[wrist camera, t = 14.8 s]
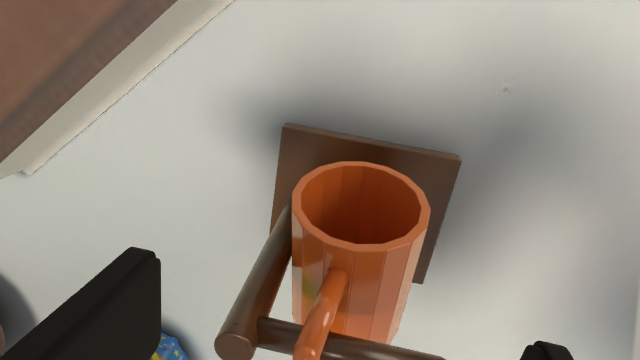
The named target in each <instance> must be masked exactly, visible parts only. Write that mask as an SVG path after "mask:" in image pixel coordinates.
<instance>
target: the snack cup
mask: <svg viewBox="0 0 640 360" xmlns="http://www.w3.org/2000/svg"><path fill="white" fill-rule="evenodd" d="M150 360H188V358H187V356H186V354H185V352H184V351H183V350H182V349H181V347H180V345H179V343H178V341H177V339H176V338H175V337H169V336H167V335H166V334H164V333H162V332H161V339H160V343H159V346H158V348H157V350H156V351H155V353H154V354H153V356H152V357H151V358H150Z"/></svg>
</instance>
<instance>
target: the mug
mask: <svg viewBox="0 0 640 360" xmlns="http://www.w3.org/2000/svg"><path fill="white" fill-rule="evenodd" d="M430 212H431V208H430V206H429V203H428V201H427V199H426V196H425V194H424V192H423V190H422V189H420V188H419V187H418V186H417V185H416V184H415V183H414V182H413V181H412V180H411V179H410V178H409V177H407V176H405V175H403V174H401V173H399V172H397V171H395V170H393V169H391V168H389V167H387V166H382V165H378V164H373V163H369V162H364V161H341V162H336V163H332V164H327V165H323V166H320V167H317V168H316V169H314V170H313V171H311V172H309V173H308V174H306V175H304V176H303V177H302V178H301V179H300V181H299V182H298V184H297V185H296V187H295V188H294V190H293V191H292V314H293V320H294V323H296V324H300V325H304V326H303V328H302V330H301V333H300V335H299V337H298V339H297V342H296V344H295V346H294V349H293V360H320V355H321V353H322V350H323V347H324V344H325V342H326V339H327V336H328V333H329V331H331V332H335V333H339V334H344V335H348V336H353V337H357V338H361V339H366V340H370V341H375V342H379V343H383V344H388V345H390V344H391V342H392V341H393V339H394V337H395V335H396V333H397V331H398V328H399V324H400V321H401V317H402V314H403V311H404V307H405V304H406V300H407V297H408V293H409V290H410V286H411V283H412V279H413V276H414V272H415V269H416V265H417V262H418V259H419V255H420V252H421V248H422V245H423V241H424V238H425V234H426V231H427V227H428V222H429V217H430Z"/></svg>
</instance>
